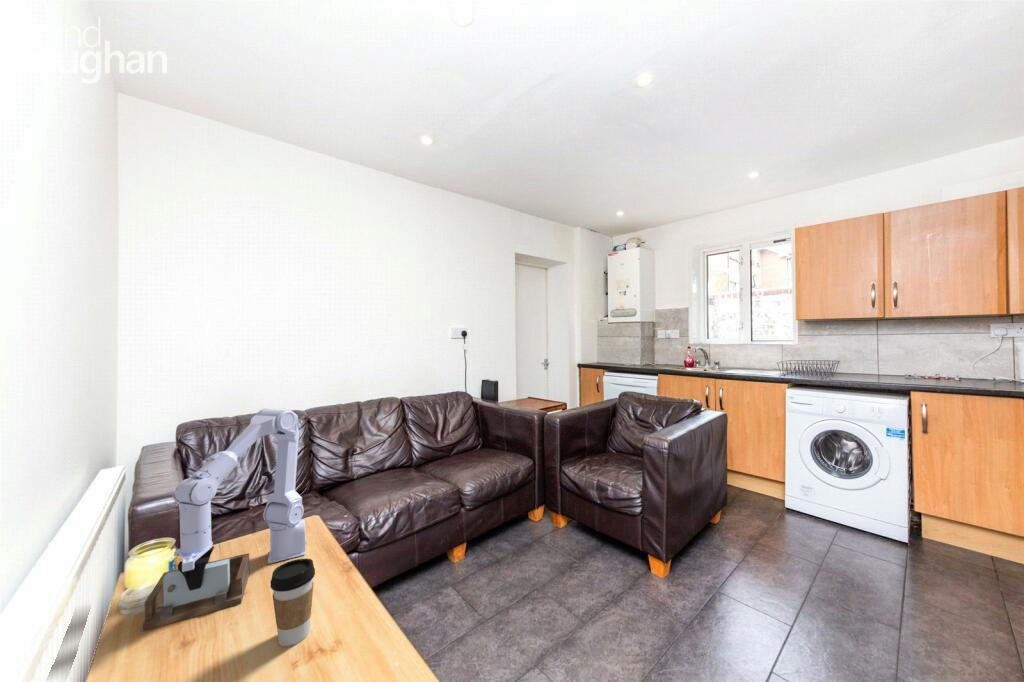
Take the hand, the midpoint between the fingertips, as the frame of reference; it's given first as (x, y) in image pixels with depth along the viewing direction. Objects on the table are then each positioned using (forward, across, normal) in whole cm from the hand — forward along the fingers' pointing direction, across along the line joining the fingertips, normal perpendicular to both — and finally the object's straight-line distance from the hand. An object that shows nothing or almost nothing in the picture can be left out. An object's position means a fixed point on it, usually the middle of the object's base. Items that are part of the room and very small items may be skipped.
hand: (197, 585), depth 91 cm
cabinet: (+6, -4, 0) cm, 7 cm away
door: (+3, 0, 0) cm, 3 cm away
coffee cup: (+6, +21, +21) cm, 30 cm away
